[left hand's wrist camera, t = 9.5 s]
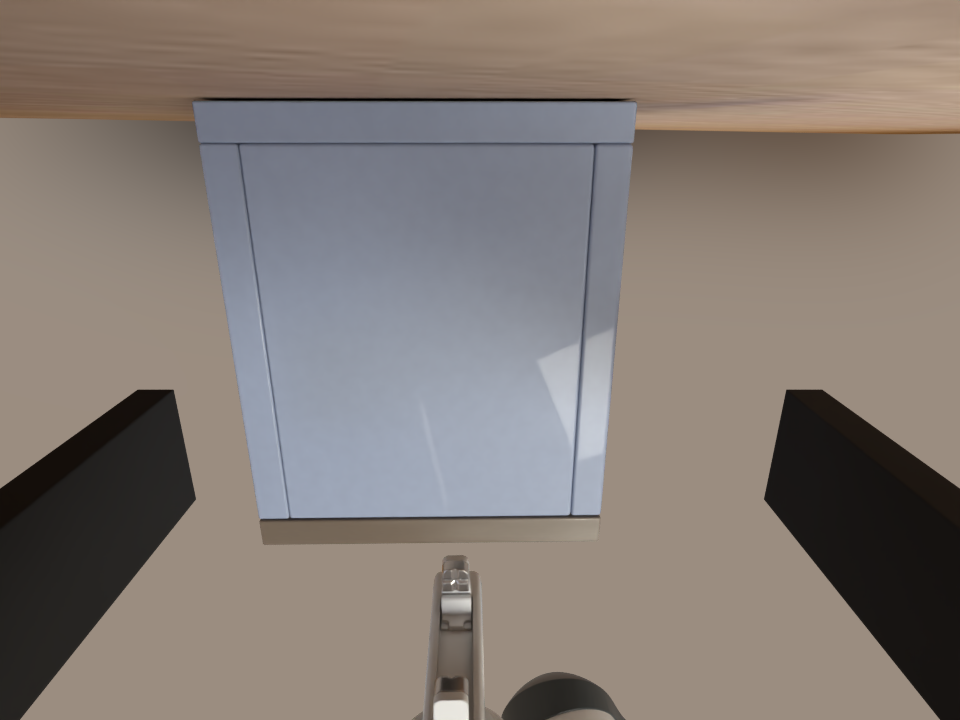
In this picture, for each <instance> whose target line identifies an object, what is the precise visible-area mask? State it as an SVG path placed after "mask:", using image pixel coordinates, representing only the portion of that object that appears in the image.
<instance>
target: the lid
mask: <svg viewBox="0 0 960 720" xmlns="http://www.w3.org/2000/svg"><path fill="white" fill-rule="evenodd" d="M260 527H261V534H262V540H263V544H264V545H282V544H283V545H284V544H376V543H469V542H562V541H598V539H599V529H600V516H599V515H572V514H571V512H570V514H569V515H546V516H447V517H348V518H291V517H289V518H287V519H261V520H260Z"/></svg>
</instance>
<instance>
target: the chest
mask: <svg viewBox="0 0 960 720" xmlns="http://www.w3.org/2000/svg"><path fill="white" fill-rule="evenodd" d="M192 105H193V111H194V117H195V124H196V130H197V136H198V141H199V142H200V143H202V144H200V145H199V147H200V154H201V160H202V166H203V172H204V179H205V185H206V191H207V197H208V203H209V210H210V216H211V222H212V228H213V234H214V241H215V247H216V253H217V259H218V266H219V272H220V278H221V284H222V290H223V297H224V303H225V309H226V315H227V321H228V328H229V334H230V340H231V346H232V353H233V359H234V365H235V371H236V377H237V384H238V390H239V395H240V402H241V408H242V415H243V421H244V427H245V433H246V439H247V446H248V452H249V458H250V464H251V471H252V477H253V483H254V489H255V495H256V502H257V508H258V514H259V518H260V519H287V518H289V517H291V518H348V517H447V516H546V515H569V514H570V512H571V514H572V515H599V514H600V512H601V502H602V491H603V479H604V468H605V457H606V446H607V434H608V423H609V411H610V400H611V389H612V378H613V366H614V355H615V344H616V332H617V321H618V309H619V298H620V287H621V275H622V264H623V253H624V241H625V230H626V219H627V207H628V196H629V185H630V173H631V162H632V151H633V147H632V145H631V144H629V143H633V141H634V133H635V122H636V110H637V102H635V101H193V102H192Z"/></svg>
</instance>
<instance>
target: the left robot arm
mask: <svg viewBox="0 0 960 720" xmlns="http://www.w3.org/2000/svg"><path fill="white" fill-rule="evenodd" d="M195 500H196V497H195V492H194V487H193V483H192V478H191V473H190V468H189V463H188V458H187V453H186V448H185V444H184V438H183V434H182V429H181V424H180V419H179V414H178V409H177V404H176V399H175V394H174V390H137V391H135V392H134V393H133V394H131V395H130V396H128V397H127V398H126V399H124V400H123V401H121V402H120V403H119V404H117V405H116V406H114V407H113V408H112V409H110V410H109V411H108V412H106V413H105V414H103V415H102V416H101V417H99V418H98V419H96V420H95V421H94V422H92V423H91V424H89V425H88V426H87V427H85V428H84V429H83V430H81V431H80V432H78V433H77V434H76V435H74V436H73V437H71V438H70V439H69V440H67V441H66V442H64V443H63V444H62V445H60V446H59V447H58V448H56V449H55V450H53V451H52V452H51V453H49V454H48V455H46V456H45V457H44V458H42V459H41V460H39V461H38V462H37V463H35V464H34V465H32V466H31V467H30V468H28V469H27V470H25V471H24V472H23V473H21V474H20V475H19V476H17V477H16V478H14V479H13V480H12V481H10V482H9V483H7V484H6V485H5V486H3V487H2V488H0V720H20V719H21V718H22V716H23V715H24V714H25V713H26V711H27V710H28V709H29V708H30V706H31V705H32V704H33V702H34V701H35V700H36V699H37V698H38V696H39V695H40V694H41V693H42V691H43V690H44V689H45V688H46V686H47V685H48V684H49V683H50V681H51V680H52V679H53V677H54V676H55V675H56V674H57V672H58V671H59V670H60V669H61V667H62V666H63V665H64V664H65V663H66V661H67V660H68V659H69V658H70V656H71V655H72V654H73V652H74V651H75V650H76V649H77V648H78V646H79V645H80V644H81V643H82V641H83V640H84V639H85V637H86V636H87V635H88V634H89V632H90V631H91V630H92V629H93V627H94V626H95V625H96V624H97V622H98V621H99V620H100V619H101V617H102V616H103V615H104V614H105V612H106V611H107V610H108V609H109V607H110V606H111V605H112V604H113V602H114V601H115V600H116V599H117V597H118V596H119V595H120V594H121V592H122V591H123V590H124V589H125V587H126V586H127V585H128V584H129V582H130V581H131V580H132V579H133V577H134V576H135V575H136V574H137V572H138V571H139V570H140V569H141V567H142V566H143V565H144V564H145V562H146V561H147V560H148V559H149V557H150V556H151V555H152V554H153V552H154V551H155V550H156V549H157V547H158V546H159V545H160V544H161V542H162V541H163V540H164V539H165V537H166V536H167V535H168V534H169V532H170V531H171V530H172V529H173V527H174V526H175V525H176V524H177V522H178V521H179V520H180V519H181V517H182V516H183V515H184V514H185V512H186V511H187V510H188V509H189V507H190V506H191V505H192V504H193V502H194V501H195ZM764 500H765V501H766V502H767V504H768V505H769V506H770V507H771V509H772V510H773V511H774V512H775V514H776V515H777V516H778V517H779V519H780V520H781V521H782V522H783V524H784V525H785V526H786V527H787V529H788V530H789V531H790V532H791V534H792V535H793V536H794V537H795V539H796V540H797V541H798V542H799V544H800V545H801V546H802V547H803V548H804V550H805V551H806V552H807V554H808V555H809V556H810V557H811V559H812V560H813V561H814V562H815V564H816V565H817V566H818V567H819V569H820V570H821V571H822V572H823V574H824V575H825V576H826V577H827V579H828V580H829V581H830V582H831V584H832V585H833V586H834V587H835V589H836V590H837V591H838V592H839V594H840V595H841V596H842V597H843V599H844V600H845V601H846V602H847V604H848V605H849V606H850V607H851V609H852V610H853V611H854V612H855V614H856V615H857V616H858V617H859V619H860V620H861V621H862V622H863V624H864V625H865V626H866V627H867V629H868V630H869V631H870V632H871V634H872V635H873V636H874V638H875V639H876V640H877V641H878V643H879V644H880V645H881V646H882V648H883V649H884V650H885V651H886V652H887V654H888V655H889V656H890V657H891V659H892V660H893V661H894V663H895V664H896V665H897V666H898V668H899V669H900V670H901V671H902V673H903V674H904V675H905V676H906V678H907V679H908V680H909V681H910V683H911V684H912V685H913V686H914V688H915V689H916V690H917V691H918V693H919V694H920V695H921V696H922V698H923V699H924V700H925V701H926V703H927V704H928V705H929V706H930V708H931V709H932V710H933V711H934V713H935V714H936V715H937V716H938V718H939V719H940V720H960V488H958V487H957V486H955V485H954V484H953V483H951V482H950V481H948V480H947V479H946V478H944V477H943V476H941V475H940V474H939V473H937V472H936V471H935V470H933V469H932V468H930V467H929V466H927V465H926V464H925V463H923V462H922V461H921V460H919V459H918V458H916V457H915V456H914V455H912V454H911V453H909V452H908V451H907V450H905V449H904V448H902V447H901V446H900V445H898V444H897V443H896V442H894V441H893V440H891V439H890V438H889V437H887V436H886V435H884V434H883V433H882V432H880V431H879V430H877V429H876V428H875V427H873V426H872V425H871V424H869V423H868V422H866V421H865V420H864V419H862V418H861V417H859V416H858V415H857V414H855V413H854V412H852V411H851V410H850V409H848V408H847V407H845V406H844V405H843V404H841V403H840V402H839V401H837V400H836V399H834V398H833V397H832V396H830V395H829V394H827V393H826V392H825V391H823V390H786V394H785V399H784V404H783V409H782V414H781V419H780V424H779V429H778V434H777V439H776V443H775V448H774V453H773V458H772V463H771V468H770V473H769V478H768V483H767V487H766V492H765V497H764Z"/></svg>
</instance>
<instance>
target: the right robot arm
mask: <svg viewBox="0 0 960 720" xmlns="http://www.w3.org/2000/svg"><path fill="white" fill-rule="evenodd" d="M412 720H625V719H624V718H623V716H622V715H621V714H620V712H619V711H618V709H617V708H616V706H615V704H614V703H613V701H612V699H611V698H610V697H609V695H608V694H607V693H606V692H605V691H604V690H603V689H602V688H600V687H599V686H597V685H596V684H594V683H592V682H591V681H589V680H587V679H585V678H582V677H580V676H577V675H574V674H569V673H563V672H552V673H546V674H543V675H540V676H538V677H536V678H534V679H532V680H531V681H529V682H528V683H526V684H525V685H524V686H523V687H522V688H521V689H520V690H519V691H518V692H517V693H516V694H515V695H514V696H513V698H512V699H511V700H510V702H509V703H508V705H507V706H506V708H505V710H504V711H503V714H502V717H500V716H499V715H498V714H496V713H495V712H493V711H492V710H490V709H488V708H486V707H485V699H484V661H483V624H482V587H481V578H480V575H479V574H478V573H477V572H475V571H469V560H468V558H467V557H466V556H463V555H457V556H446V557H444V559H443V565H442V572H439V573H437V575H436V576H435V580H434V587H433V599H432V612H431V624H430V636H429V648H428V660H427V673H426V685H425V697H424V709H423V712H421V713H420V714H418V715H417V716H416V717H415V718H413V719H412Z"/></svg>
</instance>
